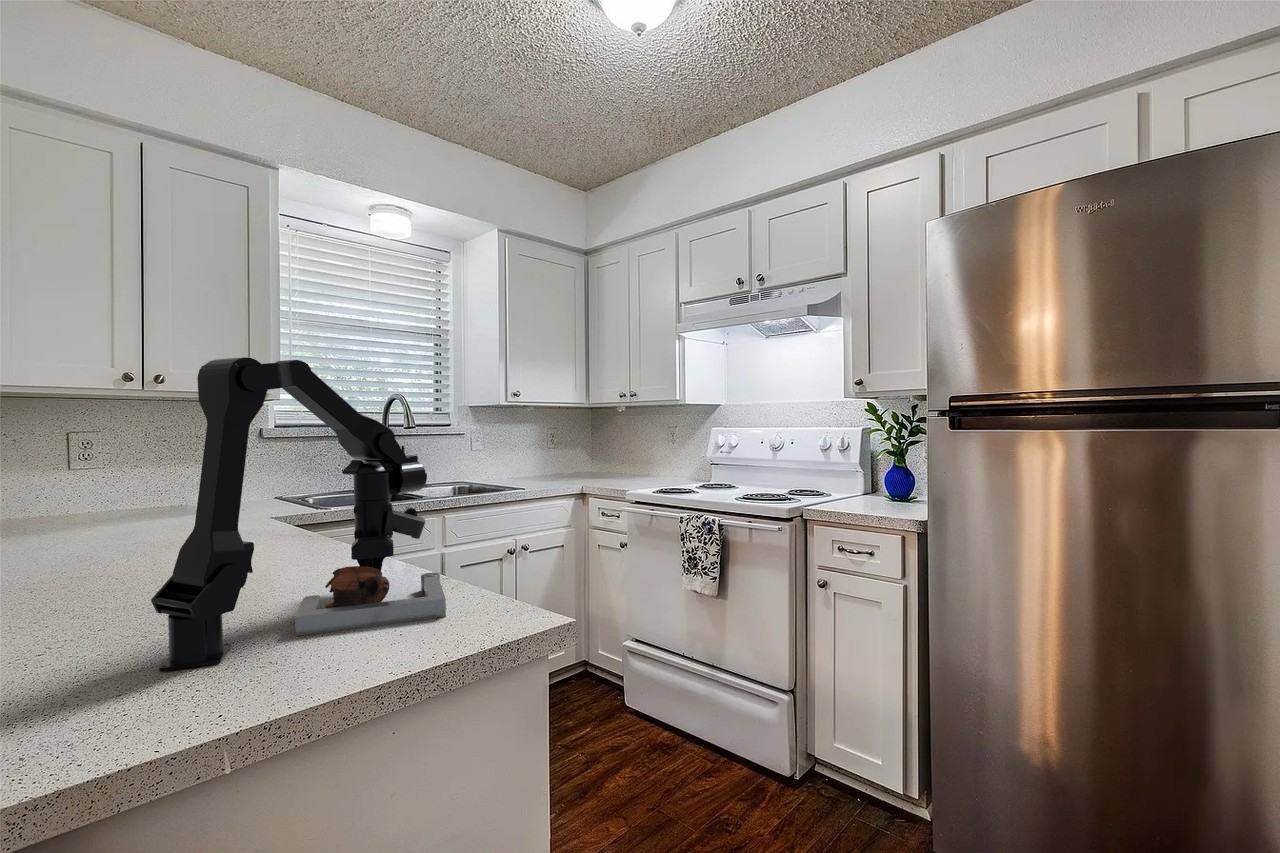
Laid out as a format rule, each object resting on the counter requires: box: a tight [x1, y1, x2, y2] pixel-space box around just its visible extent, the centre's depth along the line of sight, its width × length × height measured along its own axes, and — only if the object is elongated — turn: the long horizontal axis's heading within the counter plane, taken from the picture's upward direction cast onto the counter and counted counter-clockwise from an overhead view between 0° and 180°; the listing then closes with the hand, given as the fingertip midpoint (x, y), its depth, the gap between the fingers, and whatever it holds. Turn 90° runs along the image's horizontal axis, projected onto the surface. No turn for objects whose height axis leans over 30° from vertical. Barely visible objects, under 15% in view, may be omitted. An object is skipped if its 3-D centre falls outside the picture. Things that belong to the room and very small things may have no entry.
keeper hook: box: [294, 572, 447, 637], centre depth 101 cm, size 18×21×3 cm
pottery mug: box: [324, 565, 390, 609], centre depth 100 cm, size 12×10×8 cm
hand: (374, 588), depth 107 cm, fingers closed
